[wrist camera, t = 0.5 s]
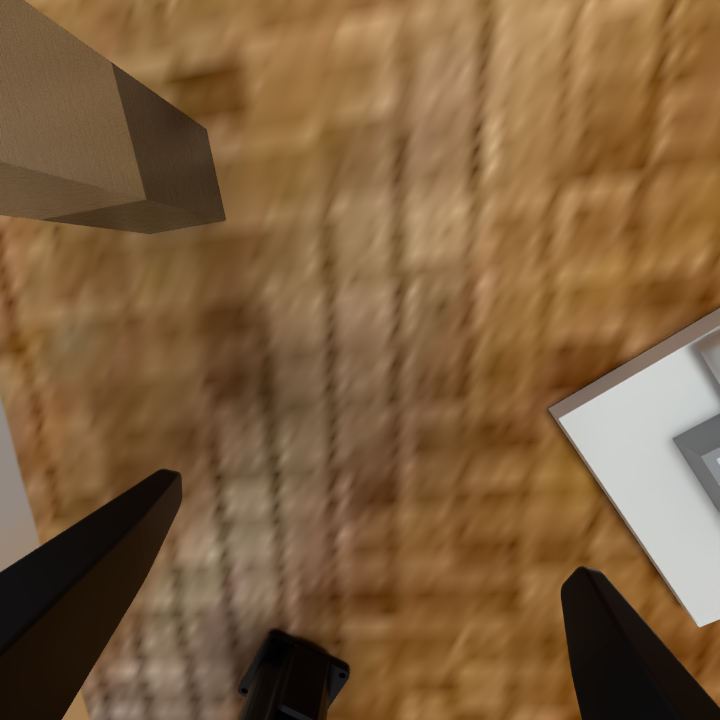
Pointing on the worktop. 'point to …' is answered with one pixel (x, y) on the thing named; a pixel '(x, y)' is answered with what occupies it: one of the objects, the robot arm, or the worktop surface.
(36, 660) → the robot arm
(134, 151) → the silver metal block
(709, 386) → the plate
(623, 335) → the worktop surface
